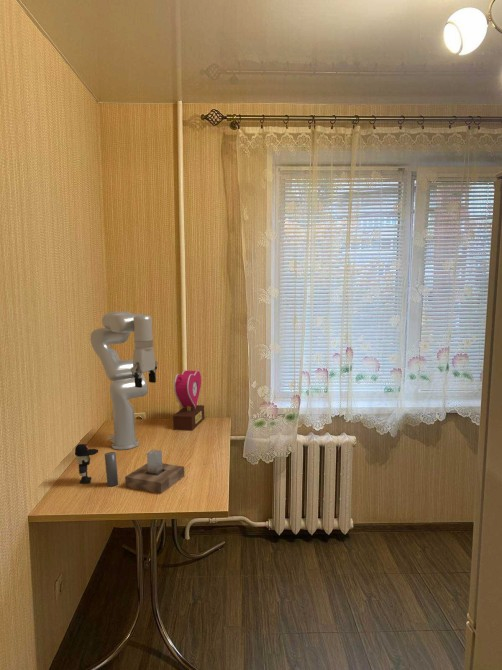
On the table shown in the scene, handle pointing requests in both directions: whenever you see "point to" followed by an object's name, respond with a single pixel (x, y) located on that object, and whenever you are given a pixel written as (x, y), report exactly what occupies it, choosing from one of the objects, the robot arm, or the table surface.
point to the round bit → (111, 469)
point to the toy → (84, 461)
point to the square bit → (154, 462)
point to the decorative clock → (188, 401)
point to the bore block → (154, 478)
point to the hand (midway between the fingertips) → (145, 384)
